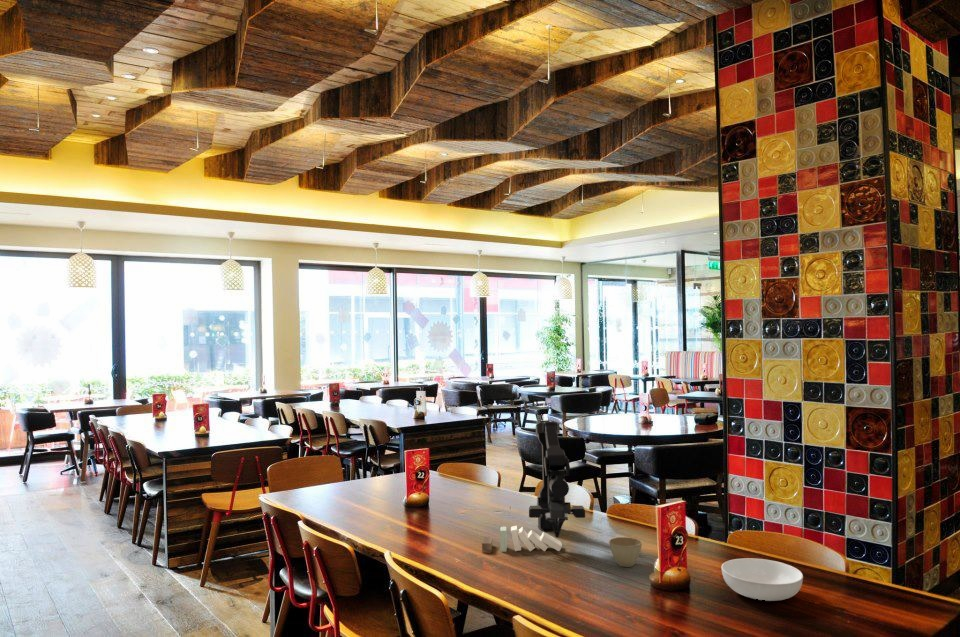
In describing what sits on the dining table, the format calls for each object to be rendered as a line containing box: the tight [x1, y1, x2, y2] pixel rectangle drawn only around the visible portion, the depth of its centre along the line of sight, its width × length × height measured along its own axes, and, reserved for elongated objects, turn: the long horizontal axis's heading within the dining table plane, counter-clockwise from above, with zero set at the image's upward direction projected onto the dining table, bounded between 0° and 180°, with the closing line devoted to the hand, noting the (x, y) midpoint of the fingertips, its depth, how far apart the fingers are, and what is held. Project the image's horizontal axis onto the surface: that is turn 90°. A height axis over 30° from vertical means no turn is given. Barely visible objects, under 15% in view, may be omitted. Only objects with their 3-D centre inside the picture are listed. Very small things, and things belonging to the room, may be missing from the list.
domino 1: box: [510, 525, 522, 552], centre depth 239 cm, size 2×5×7 cm, turn 176°
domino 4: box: [540, 531, 563, 552], centre depth 238 cm, size 2×5×7 cm
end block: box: [481, 536, 493, 553], centre depth 239 cm, size 3×8×3 cm, turn 176°
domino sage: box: [499, 526, 508, 553], centre depth 239 cm, size 2×5×7 cm, turn 176°
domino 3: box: [527, 529, 549, 552], centre depth 238 cm, size 2×5×7 cm
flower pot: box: [608, 536, 643, 568], centre depth 221 cm, size 10×10×7 cm
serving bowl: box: [720, 557, 804, 602], centre depth 194 cm, size 21×21×7 cm
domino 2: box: [518, 526, 536, 552], centre depth 238 cm, size 2×5×7 cm
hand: (557, 537), depth 238 cm, fingers closed
